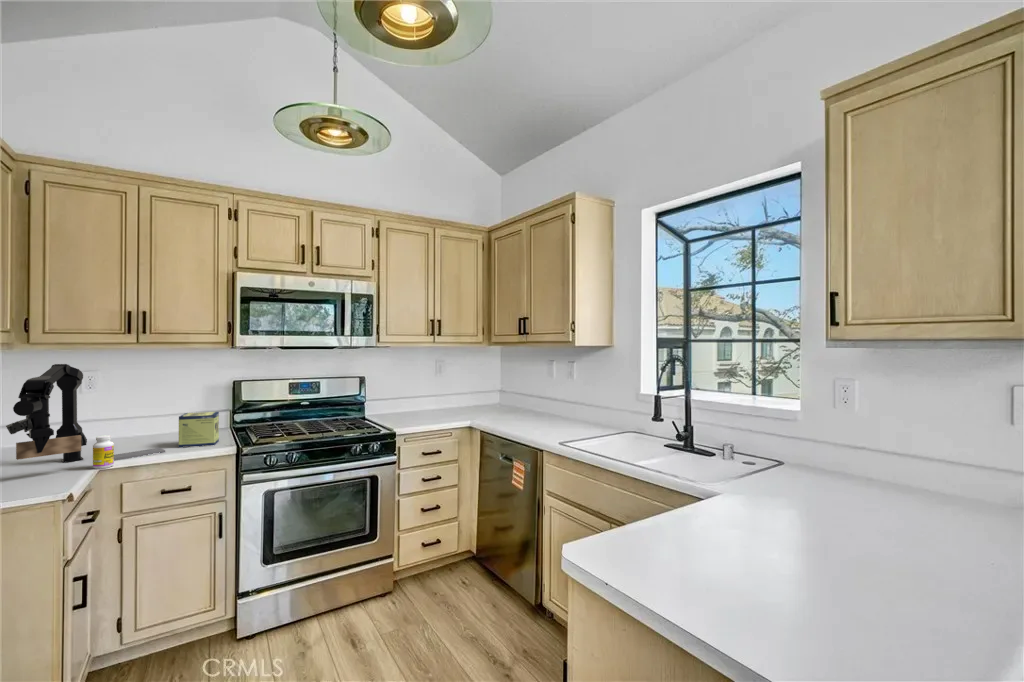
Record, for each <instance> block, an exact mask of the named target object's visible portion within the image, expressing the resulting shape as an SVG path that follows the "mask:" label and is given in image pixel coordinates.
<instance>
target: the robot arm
mask: <svg viewBox="0 0 1024 682" xmlns="http://www.w3.org/2000/svg"><path fill="white" fill-rule="evenodd" d="M83 379H84V373H83V372H82V371H81V370H80V369H79V368H76V367H73V366H71V365H70V364H67V363H54V364H52V365H51V367H49V369H48V370H46V371H45V372H43V373H42V374H40V376H35V377H31V378H28V379H26V380H25V382H24V383H23V384H22V385H21V386H22V387H21V389H20V392H19V394H18V399H20V400H19V401H17V402H16V403H15V404H14V405H13V407H12V410H13V412H14V414H15V415H17V416H20V417H21V416H22V417H25V418H24V419H21V420H17V421H14V422H12V423H9V424H7V425H5V428H6V429H7V431H8V433H9V434H10V435H15V434H17V433H18V432H21V431H23V432H24V433H26V434H25V435H26V436H27V437H28V438H30V439H31V441H34V442H35V446H36V450H37V453H41V452H42V450H43V449H44V447H45V445H46V443H47V441H48V440H49V439H51V436H54V435H55V431H54V429H53V428H52V427H51V424H50V417H51V414H50V409H49V408H50V400H49V399H50V398H51V393H52V391H53V390H54V387H55V385H54V384H56V386H57V387H58V388H59V389H60V391H61V415H62V416H61V418H62V419H61V422H62V423H61V426H59V428H58V429H56V436H55V438H60V437H69V436H77V435H81V447H83V446H87V444H88V439H87V436H86V435H85V433H84V432H83V428H82V426H81V425H80V424H79V423H78V393H77V392H78V388H79V387H80V386H81V385H82V383H83ZM27 432H28V433H27ZM62 454H63V455H62V456H63V457H62V458H61V459H60V461H61V462H62V463H69V462H75V461H82V460H84V457H83V456H82V450H81V451H76V452H69V453H62Z"/></svg>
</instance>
